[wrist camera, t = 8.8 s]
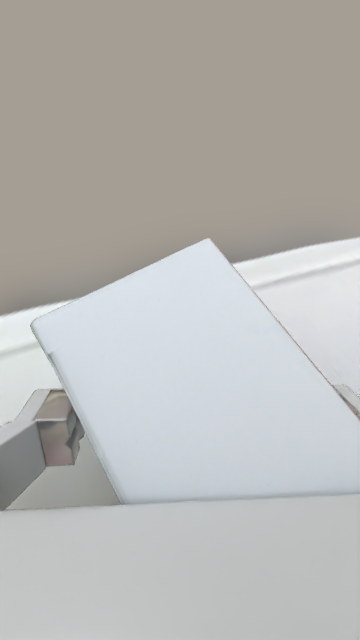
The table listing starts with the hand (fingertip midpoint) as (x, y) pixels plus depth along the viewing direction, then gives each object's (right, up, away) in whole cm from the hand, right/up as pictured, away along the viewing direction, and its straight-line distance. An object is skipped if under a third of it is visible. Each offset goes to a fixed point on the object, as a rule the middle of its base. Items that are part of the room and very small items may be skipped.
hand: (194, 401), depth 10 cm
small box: (-1, -3, +6) cm, 7 cm away
